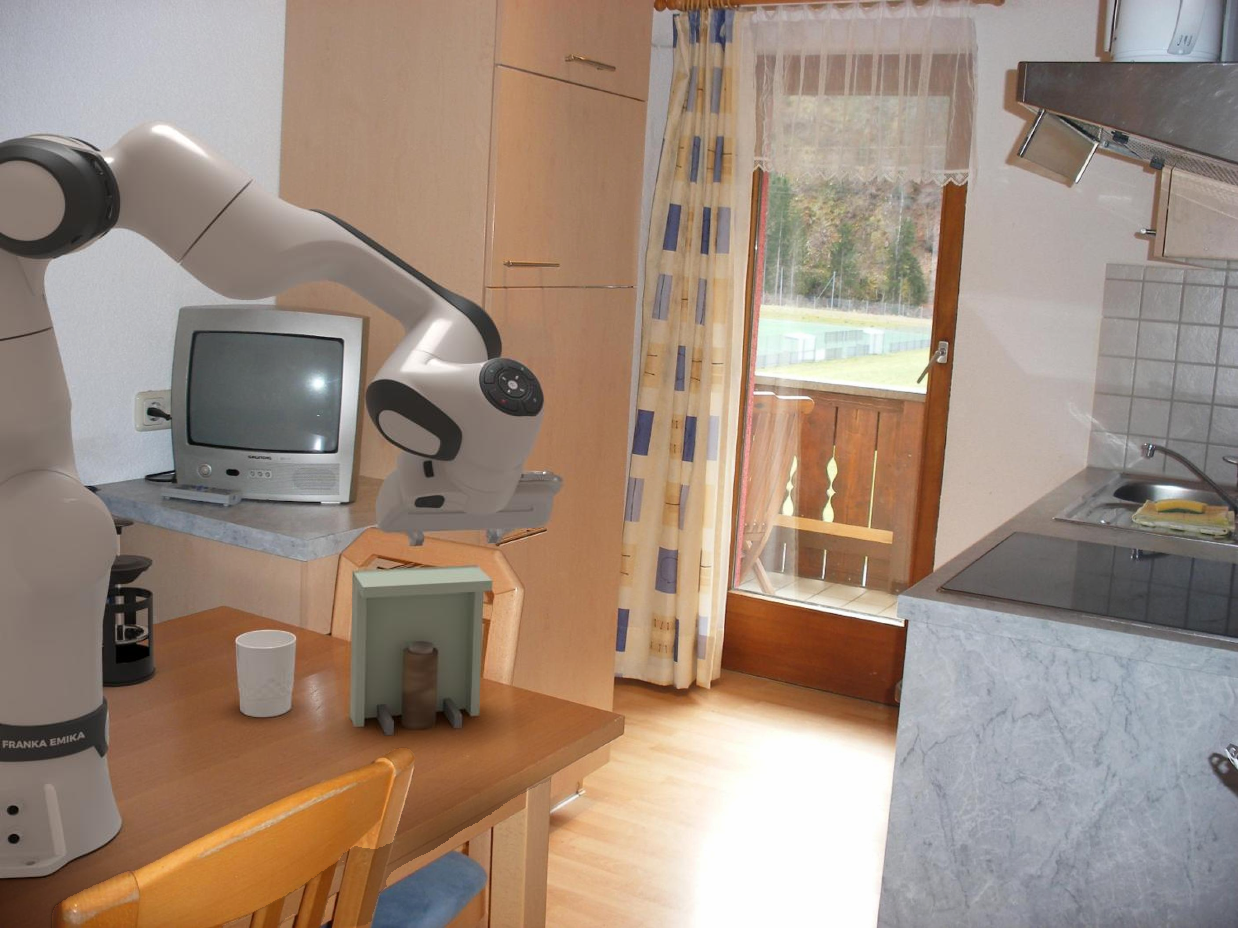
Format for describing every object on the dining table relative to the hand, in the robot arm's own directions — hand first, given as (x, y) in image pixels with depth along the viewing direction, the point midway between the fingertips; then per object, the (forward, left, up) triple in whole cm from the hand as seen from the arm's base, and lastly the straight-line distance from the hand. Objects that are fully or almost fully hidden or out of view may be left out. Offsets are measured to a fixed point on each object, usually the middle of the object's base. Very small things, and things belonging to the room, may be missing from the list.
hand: (453, 539), depth 140 cm
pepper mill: (0, +15, -29) cm, 33 cm away
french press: (-38, +43, -29) cm, 65 cm away
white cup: (-19, +25, -29) cm, 43 cm away
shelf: (0, +15, -29) cm, 33 cm away
